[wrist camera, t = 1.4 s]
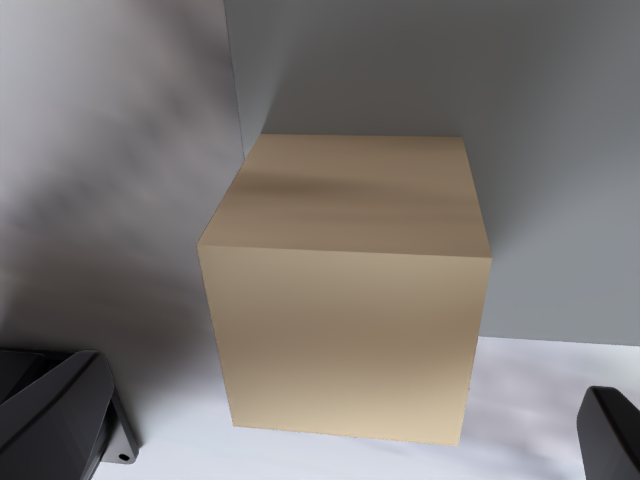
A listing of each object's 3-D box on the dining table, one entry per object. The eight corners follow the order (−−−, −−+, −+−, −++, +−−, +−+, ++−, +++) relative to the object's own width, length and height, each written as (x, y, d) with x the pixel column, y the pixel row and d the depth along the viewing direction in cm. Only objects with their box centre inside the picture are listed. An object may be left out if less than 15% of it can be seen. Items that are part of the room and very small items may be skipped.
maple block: (442, 296, 15) (458, 446, 11) (276, 287, 16) (233, 426, 12) (462, 136, 13) (492, 257, 8) (260, 133, 13) (196, 245, 9)
